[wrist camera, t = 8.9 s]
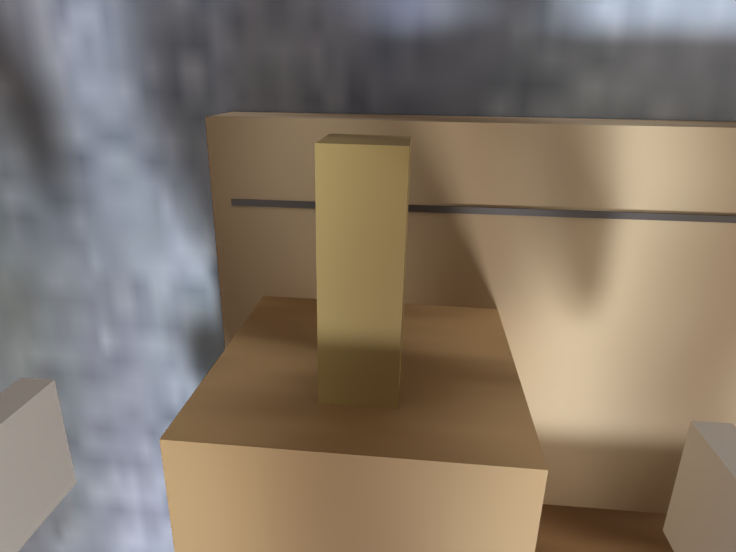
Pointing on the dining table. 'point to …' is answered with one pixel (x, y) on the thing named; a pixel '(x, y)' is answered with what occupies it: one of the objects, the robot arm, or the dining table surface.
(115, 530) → the dining table surface
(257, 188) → the board
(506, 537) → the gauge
